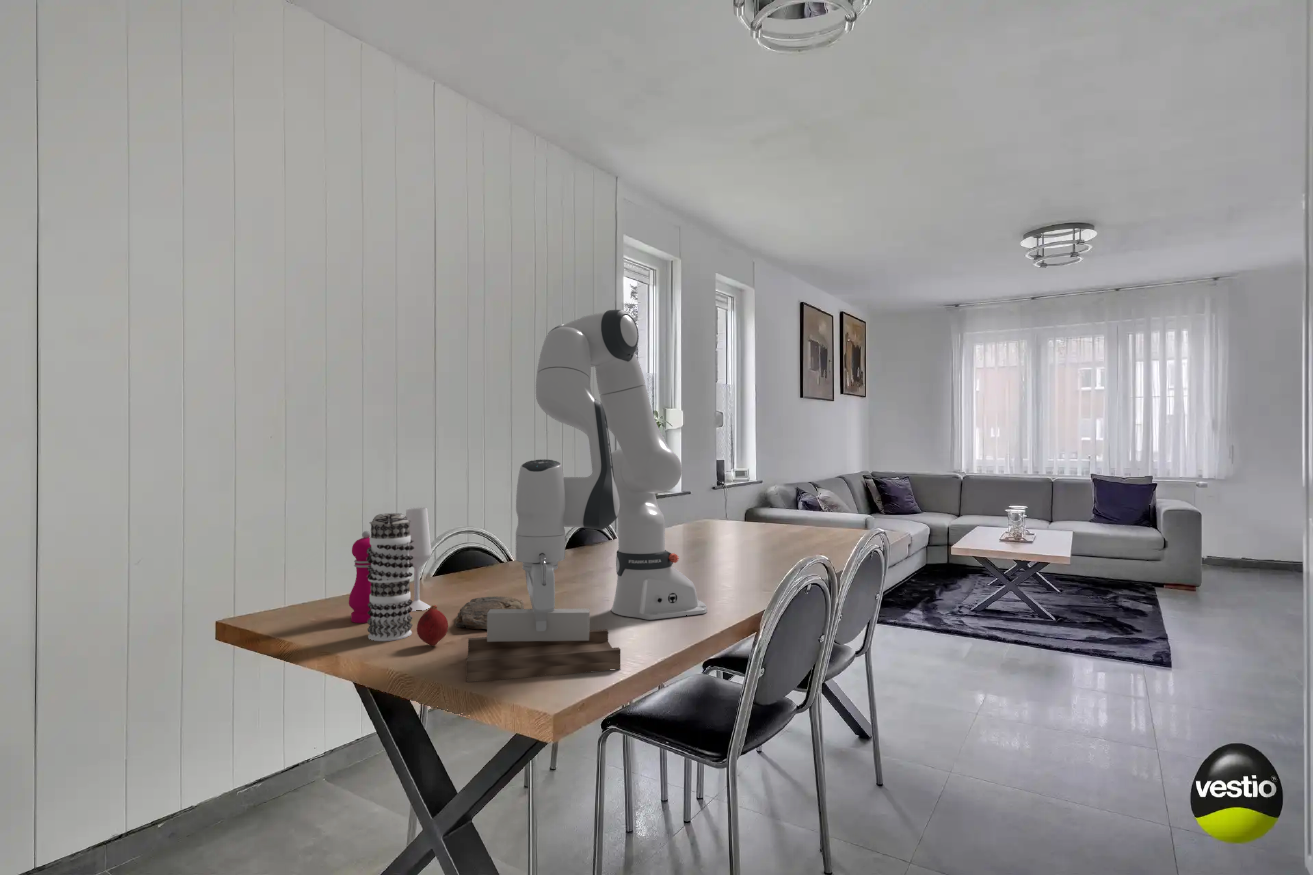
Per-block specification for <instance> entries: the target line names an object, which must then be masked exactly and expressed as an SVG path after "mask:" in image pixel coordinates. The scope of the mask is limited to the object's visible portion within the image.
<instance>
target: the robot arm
mask: <svg viewBox="0 0 1313 875" xmlns="http://www.w3.org/2000/svg"><path fill="white" fill-rule="evenodd" d="M638 343H639V329H638V326H637V323H636V321H635V319H634V318H633V317H632V315H630V314H629V313H628V312H627V311H625V310H623V309H608V310H607V311H604V312H597V313H592V314H587V315H585V316H584V315H583V316H581V317H580V318H577V319H574V320H572V321H569V322H567V323H565V324H564V323H562V324H559V325H557V326H555V327H554V328H552V329H551V330H550V331H548V333H547V335H546V336H545V339H544V342H543V344H542V347H541V352H540V355H539V358H538V364H537V372H536V381H535V398H536V399H535V400H536V402H537V403H538V406H539V407H540V409H541V410H542V411H543V412H544V413H545V414H546V415H547V416H549V417H550V418H551V419H554V420H555V421H557V422H559V423H562V424H564V425H567V426H569V427H573V428H575V429H577V430H579V431H580V432H583V433H584V434H585V435H586V436H587V438H588V444H589V452H590V462H591V474H590V475H588V476H582V477H581V476H579V477H578V476H576V477H574V476H564V469H563V465H562V463H561V462H559V461H557V460H553V459H535V460H534V459H533V460H529V461H526V462H524V463H522V464H521V466H520V468H519V473H518V478H517V485H516V493H515V494H516V495H515V497H516V498H515V511H516V515H517V527H516V529H515V561H516V562H519V563H522V570H523V571H524V572H525V573H524V574H525V582H526V588H527V593H528V596H529V599H530V600H529V601H530V603H531V609H533V612H534V613H535V617H536V625H535V626H536V631H545V630H546V620H547V613H551V612H553V611H554V609H556V608H555V607H556V604H555V603H556V598H555V597H556V589H555V588H556V585H555V584H556V583H555V579H556V578H555V571H556V570H557V569H558V568H559V562H562V561H564V560H566V528H585V529H591V530H600V531H603V530H605V529H607V528H608V527H609V526H610V525H612V524H613V523H614V522H615V521H616V520H617V523H618V524H617V526H618V527H617V533H618V534H617V539H618V548H617V549H618V550H617V551H616V556H615V572H616V575H617V579H616V587H615V595H614V600H613V603H612V607H611V612H612V613H614V614H615V615H619V616H622V617H628V618H629V617H630V618H637V619H641V620H642V619H643V620H646V621H647V620H648V621H649V620H650V621H653V620H660V619H669V618H677V617H685V616H686V615H687V616H693V615H702V614H706V613H707V612H708V606H707V605H706V603H705V602H703V601H702V600H699V599H698V593H697V589H696V586H695V584H694V582H693V581H692V580H691V579H689V578H688V577H687V576H686V575H685V574H684V573H682V572H681V571H680V570H678V569H677V568H676V567H674V566H673V564H676V563H678V562H679V559H680V556H678V554H677V553H675V552H674V553H672V552H670V551H668V550H666V521H665V515H664V513H663V512H662V511H661V509H660V506H659V505H658V504H659V503H658V500H657V497H656V494H661V493H665V492H667V491H670V490H672V489H673V488H675V487H676V486H677V485H678V483H679V482H680V480H681V478H682V473H683V472H682V471H683V470H682V469H683V467H682V463H681V460H680V458H679V457H678V455H677V454H676V453H675V452H674V451H673V450H672V449H671V448H670V447H669V445H668V444H667V441H666V440H665V438H664V436H663V434H662V431H661V430H660V428H659V426H658V424H657V421H656V419H655V417H654V416H655V415H654V413H653V408H652V405H651V402H650V396H649V393H648V389H647V385H646V381H645V378H644V374H643V370H642V367H641V364H640V362H639V360H638V357H637V355H636V351H637V348H638ZM592 367H594V368H595V376H596V383H597V388H598V394H599V398H600V400H599V399H597V398H595V396H594V395H593V393H592V388H591V378H592V377H591V376H592V374H591V372H592ZM609 432H611V433H612V435H613V436H614V438H615V439H616V442H618V445H619V448H617V449H616V450H614V451H612V448H611V439H610V433H609ZM687 616H686V617H687Z"/></svg>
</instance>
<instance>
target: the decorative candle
mask: <svg viewBox="0 0 1313 875" xmlns="http://www.w3.org/2000/svg"><path fill="white" fill-rule="evenodd" d="M410 522H411V521H410V520H408V519H407V517H406V514H403V513H399V512H398V513H396V512H395V513H393V512H391V513H379V514H377V515H375V516H374V517H373V519H372V520H371V521H370V522H369V524H370V533H371V536H370V537H369V538H370V545H371V547H370V548H368V549H367V551H366V552H367V553H368V555H369V556H368V557H367V558H366V560H367V561H368V562H369V563H371V565H369V566H368V568H367V570H368V571H369V575H367V578H368V581H370V582H371V594H370V603H369V604H368V607H369V608H371V609H370V610H369V611H368V614H369V615H370V616H371V617H370V619H369V620H368V621H367V623H366V624H368V627H367V631H368V633H369V634H368V636H367V638H368V640H370V639H371V640H370V641H373V640H374V642H392V641H397V640H398V641H399V640H402V639H406V638H408V636H409V637H410V636H411V635H412V634H413V632H412V627H413V624H412V623H411V622H412V621H413V616H412V615H411V614H410V613H411V612H413V611H412V608H411V607H410V606H409V605H411V603H412V601H413V599H412V600H411V590H410V585H411V584H410V583H411V582H410V580H411V579H412V578H413V573H412V572H410V569H411V568H413V567H412V566H413V564H412V563H411V562H409V561H410V560H411V559H413V556H411V555H409V551H410V550H413V549H414V547H413V546H412V545H409V543H412V542H414V541H413V540H411V535H410Z"/></svg>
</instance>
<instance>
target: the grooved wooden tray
mask: <svg viewBox="0 0 1313 875" xmlns="http://www.w3.org/2000/svg"><path fill="white" fill-rule="evenodd" d="M467 641H468V642H467V644H468V651H467V652H468V653H467V658H466V683H472V682H473V683H474V682H484V681H495V680H496V681H497V680H511V679H520V678H521V679H522V678H523V679H524V678H534V677H547V676H560V675H573V674H584V673H585V672H586V673H592V672H591V671H598V672H605V671H604V670H610V669H620V670H621V648H620V647H619V646H618V647H612V645H611V644H610V642H609V630H608V628H603V629H602V628H601V629H600V628H599V629H589V641H497V642H487V636H482V637H469V638H468V640H467ZM586 673H585V674H586Z"/></svg>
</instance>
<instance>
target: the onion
mask: <svg viewBox="0 0 1313 875" xmlns="http://www.w3.org/2000/svg"><path fill="white" fill-rule="evenodd" d="M430 606H431V607H430V609H427V610H425V612H424V613H423V614H422V615H421V616H420V618H419V620H418V622H417V625H416V632H417V633H416V634H417V636H418V637H419V639H420V640H422V642H424V643H426V644H427V645H428V646H431V647H434V646H436V645H437V644H438V643H439V642H440V641H442V640H443V639H444V638H445V636H446V635H447V633H448V629H449V622H448V619H447V617H446V615H445V614H444V613H443V612H441V611H440V610H438V609H437V608H438V605H436V604H431V605H430Z"/></svg>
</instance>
